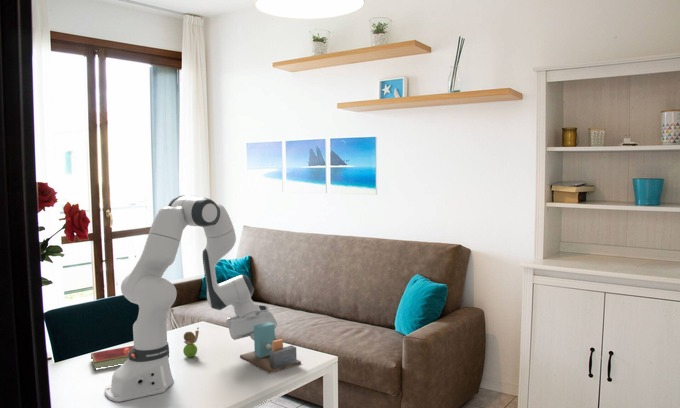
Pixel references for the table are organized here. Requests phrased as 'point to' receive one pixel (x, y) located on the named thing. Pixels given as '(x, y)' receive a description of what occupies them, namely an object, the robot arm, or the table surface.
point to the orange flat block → (277, 344)
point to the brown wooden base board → (264, 362)
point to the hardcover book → (110, 357)
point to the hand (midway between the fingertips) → (260, 342)
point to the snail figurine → (190, 343)
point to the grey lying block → (283, 357)
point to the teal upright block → (263, 339)
